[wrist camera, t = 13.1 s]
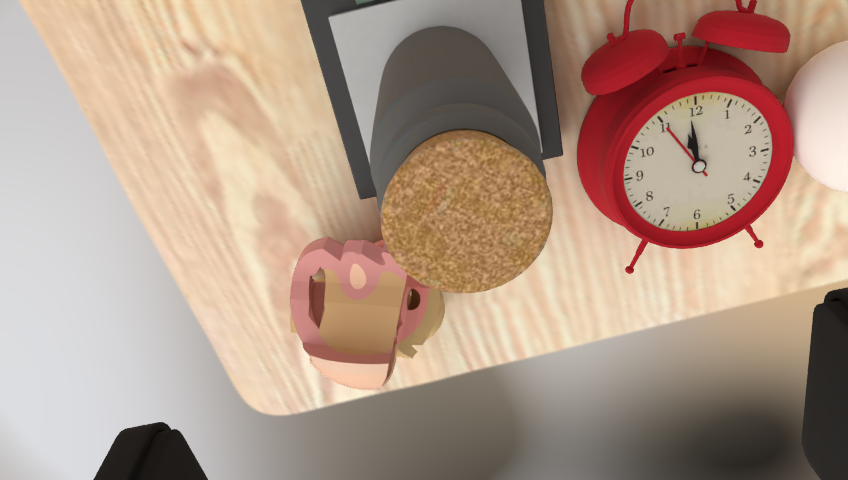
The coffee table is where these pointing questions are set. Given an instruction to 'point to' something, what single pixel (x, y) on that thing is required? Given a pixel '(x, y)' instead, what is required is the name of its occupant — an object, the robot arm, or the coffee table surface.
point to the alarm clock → (685, 132)
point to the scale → (399, 18)
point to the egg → (821, 116)
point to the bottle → (457, 165)
